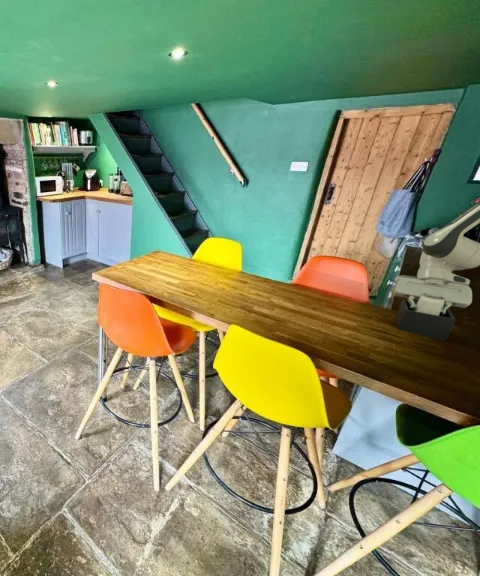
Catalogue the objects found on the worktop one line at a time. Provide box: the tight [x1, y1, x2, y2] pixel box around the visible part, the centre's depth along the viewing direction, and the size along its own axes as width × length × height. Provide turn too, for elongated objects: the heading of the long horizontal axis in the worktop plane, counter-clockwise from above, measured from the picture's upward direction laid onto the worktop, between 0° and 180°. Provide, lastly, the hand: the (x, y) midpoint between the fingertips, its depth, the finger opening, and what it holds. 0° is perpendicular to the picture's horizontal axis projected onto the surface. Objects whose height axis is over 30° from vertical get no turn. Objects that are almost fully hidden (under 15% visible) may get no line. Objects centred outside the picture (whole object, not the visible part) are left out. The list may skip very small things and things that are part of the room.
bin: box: [394, 299, 457, 342], centre depth 114 cm, size 13×13×9 cm
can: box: [414, 293, 445, 316], centre depth 113 cm, size 6×6×12 cm
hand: (427, 310), depth 112 cm, fingers closed on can, 6 cm apart
